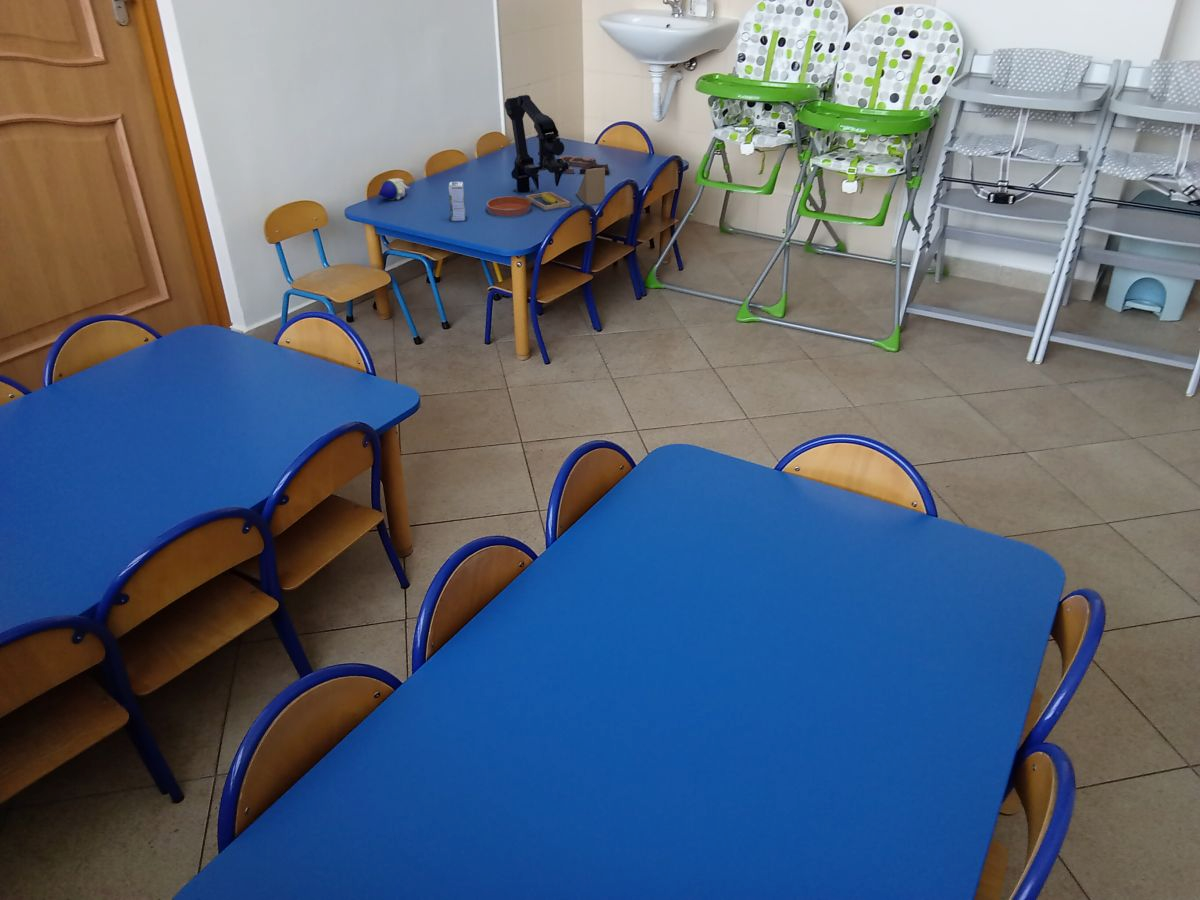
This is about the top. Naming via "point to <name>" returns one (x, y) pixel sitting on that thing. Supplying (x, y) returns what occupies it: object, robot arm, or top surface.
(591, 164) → the wood carving
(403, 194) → the cartoon head
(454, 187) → the syrup box
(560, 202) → the tray
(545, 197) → the banana
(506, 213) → the bowl
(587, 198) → the sandwich container
